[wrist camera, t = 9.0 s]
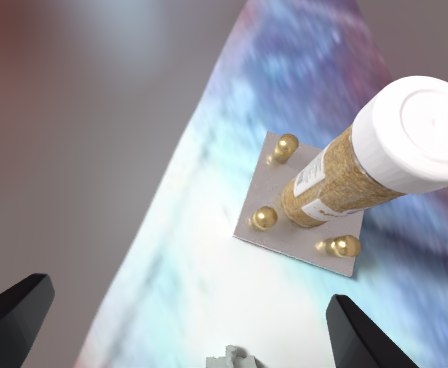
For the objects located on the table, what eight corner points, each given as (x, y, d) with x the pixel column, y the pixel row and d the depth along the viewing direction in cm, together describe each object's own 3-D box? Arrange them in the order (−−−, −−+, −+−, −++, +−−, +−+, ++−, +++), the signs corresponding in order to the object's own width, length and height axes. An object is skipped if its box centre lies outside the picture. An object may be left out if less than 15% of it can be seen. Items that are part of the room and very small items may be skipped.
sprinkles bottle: (303, 239, 22) (442, 207, 9) (269, 194, 23) (351, 105, 10) (343, 208, 23) (523, 138, 10) (309, 166, 23) (433, 52, 11)
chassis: (345, 276, 22) (369, 279, 19) (232, 236, 22) (236, 231, 19) (366, 169, 25) (390, 155, 21) (265, 136, 25) (273, 117, 22)
